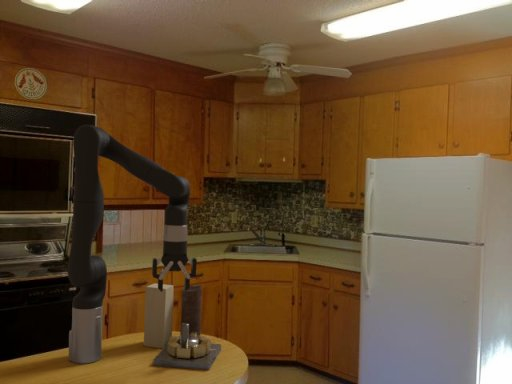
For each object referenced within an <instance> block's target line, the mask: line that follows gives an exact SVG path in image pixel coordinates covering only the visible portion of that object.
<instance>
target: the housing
mask: <svg viewBox="0 0 512 384" xmlns="http://www.w3.org/2000/svg"><path fill="white" fill-rule="evenodd" d="M198 341H199V339H198V338H197V337H192V336H189V346H194V345H198ZM180 345H181V339H180ZM167 346H168V345H167ZM167 346H166V347H165V348H162V349H161V351H160V352H159V353H158V354H157V355H156V356H155V357H154V358H153V366H157V367H170V368H179V369H180V368H181V369H190V370H191V369H192V370H206V371H210V369H211V367H212V366H213V364H214V362H215V361H216V359H217V358H218V356H219V354H220V352H221V351H222V344H221V343H212V342H211V350H210V351H209V353H208V354H205V356H201V357H196V358H193V357H191V358H179V357H177V356H172V355H171V354H169V353H168V351H167Z"/></svg>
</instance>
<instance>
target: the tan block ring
mask: <svg viewBox="0 0 512 384" xmlns="http://www.w3.org/2000/svg"><path fill="white" fill-rule="evenodd" d="M180 330H181V336H180V335H172V336H171V337H170V340H169V341H168V346H167V351H168V353H169V354H171V355H172V356H177V357H179V358H191V357H193V358H196V357H201V356H205V354H208V353H209V351H210V350H211V343H212V340H211V339H210V338H208V337H207V336H203V335H201V334H200V335H197V332H192V333H191V335H189V323H182V326H181V325H180ZM189 336H192V337H197V338H198V339H199V341H198V345H194V346H189ZM180 339H181V345H180Z"/></svg>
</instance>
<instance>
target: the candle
mask: <svg viewBox="0 0 512 384" xmlns="http://www.w3.org/2000/svg"><path fill="white" fill-rule="evenodd" d="M181 292H182V293H181V294H182V295H181V312H180V313H181V314H180V317H181V318H180V319H181V320H180V327H181V326H182V323H189V335H191V333H192V332H197V335H201V332H202V331H201V323H202V322H201V321H202V300H203V299H202V297H203V287H202V285H199V284H195V285H190V287H189V289H188V290H187V291H185V290H184V286H183V287H182V291H181ZM179 333H180V334H179V336H181V329H180V331H179Z"/></svg>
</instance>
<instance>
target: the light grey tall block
mask: <svg viewBox="0 0 512 384" xmlns="http://www.w3.org/2000/svg"><path fill="white" fill-rule="evenodd" d="M174 291H175V289H174V285H173V284H164V283H163V291H162V292H160V290H159V289H158V283H152V284H150V285H147V286H146V287H145V296H144V297H145V300H144V302H145V303H144V304H145V305H144V323H143V324H144V326H143V327H144V328H143V346H145V347H148V348H149V347H150V348H157V349H164V348H165V347H166V346H167V345H168V341H169V340H170V337H171V336H173V319H174V318H173V315H174V312H173V311H174Z"/></svg>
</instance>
